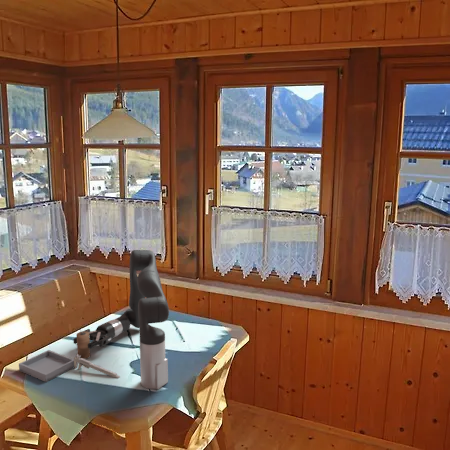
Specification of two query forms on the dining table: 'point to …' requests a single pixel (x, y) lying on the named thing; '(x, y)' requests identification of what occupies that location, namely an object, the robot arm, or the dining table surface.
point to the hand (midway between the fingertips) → (81, 343)
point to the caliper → (92, 366)
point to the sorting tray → (47, 365)
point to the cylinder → (83, 344)
